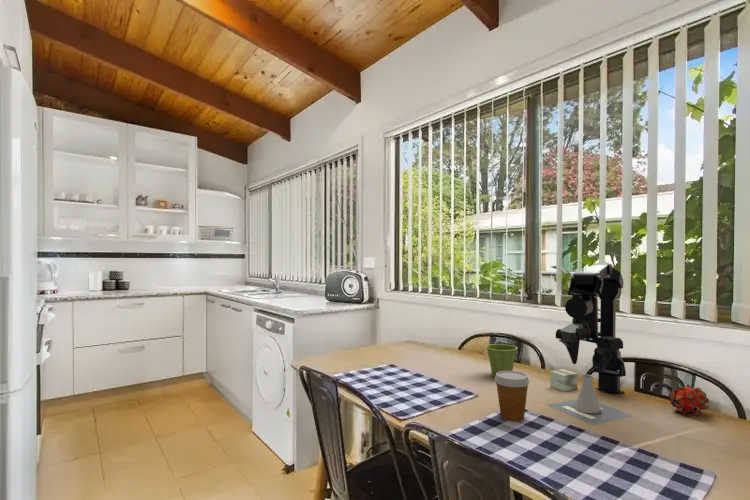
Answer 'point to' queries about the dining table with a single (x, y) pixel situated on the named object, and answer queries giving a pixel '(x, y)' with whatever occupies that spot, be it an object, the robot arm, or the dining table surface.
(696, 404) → the dragon fruit
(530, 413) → the dining table surface
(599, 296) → the robot arm
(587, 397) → the flask
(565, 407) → the board
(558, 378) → the sage block
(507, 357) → the plant pot
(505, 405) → the disposable coffee cup
